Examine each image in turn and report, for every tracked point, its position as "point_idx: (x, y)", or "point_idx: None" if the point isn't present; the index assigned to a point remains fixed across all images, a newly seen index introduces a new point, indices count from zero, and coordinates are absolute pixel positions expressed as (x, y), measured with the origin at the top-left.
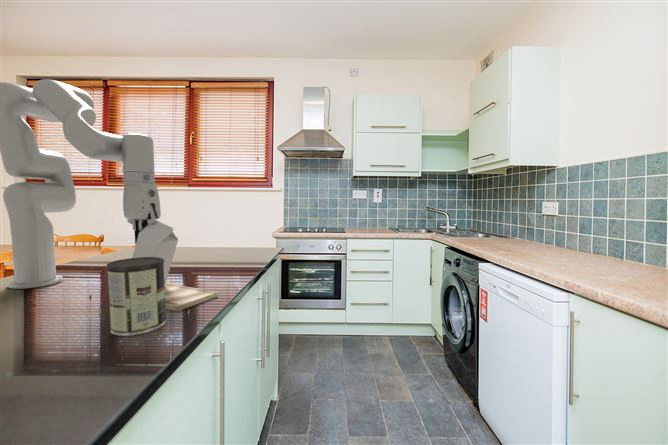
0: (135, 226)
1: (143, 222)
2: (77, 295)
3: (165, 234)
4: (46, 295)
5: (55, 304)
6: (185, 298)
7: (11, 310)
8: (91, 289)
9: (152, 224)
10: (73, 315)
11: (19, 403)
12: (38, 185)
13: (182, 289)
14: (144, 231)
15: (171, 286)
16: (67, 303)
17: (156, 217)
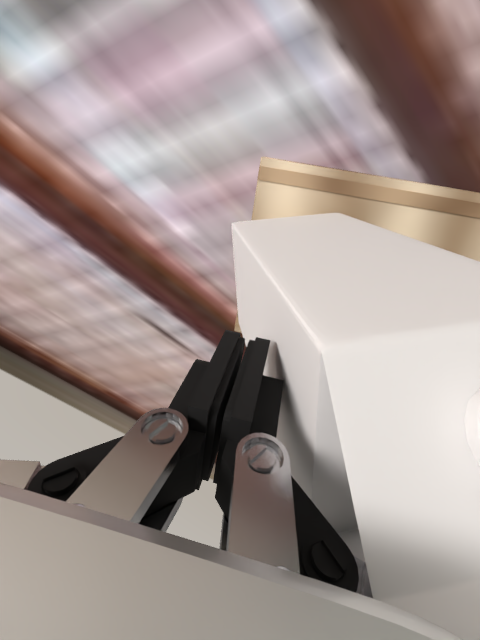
0: (170, 521)
1: (149, 499)
2: (116, 328)
3: None
4: (51, 342)
5: (150, 388)
6: None
7: (116, 423)
8: (84, 274)
9: (401, 584)
10: None
11: None
12: None
13: (460, 236)
14: (349, 545)
15: (375, 209)
16: (167, 379)
17: (386, 636)
